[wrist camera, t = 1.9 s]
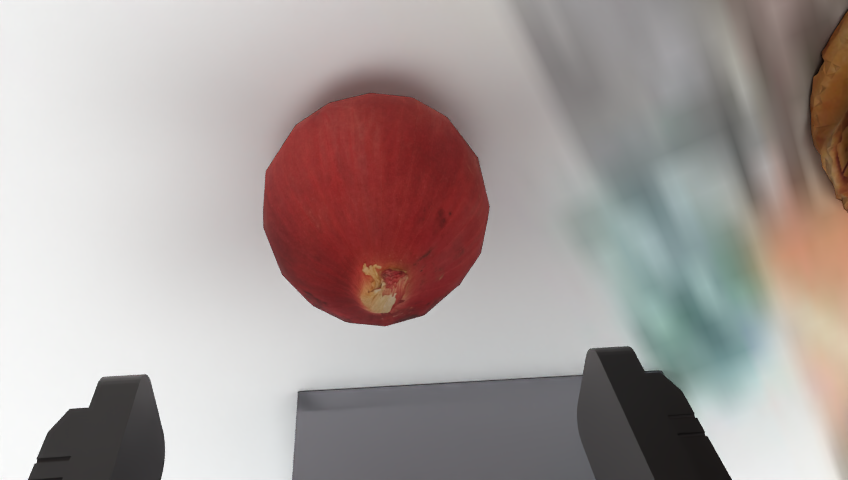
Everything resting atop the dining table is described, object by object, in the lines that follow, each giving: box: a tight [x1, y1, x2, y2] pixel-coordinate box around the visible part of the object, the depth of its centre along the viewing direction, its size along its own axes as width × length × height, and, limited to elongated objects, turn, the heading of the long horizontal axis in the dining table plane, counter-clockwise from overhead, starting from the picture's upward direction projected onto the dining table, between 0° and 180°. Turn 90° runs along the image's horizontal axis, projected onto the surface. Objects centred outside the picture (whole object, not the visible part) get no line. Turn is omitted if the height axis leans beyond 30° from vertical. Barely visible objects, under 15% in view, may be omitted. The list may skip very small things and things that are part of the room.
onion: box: [263, 93, 490, 326], centre depth 19 cm, size 6×6×8 cm
